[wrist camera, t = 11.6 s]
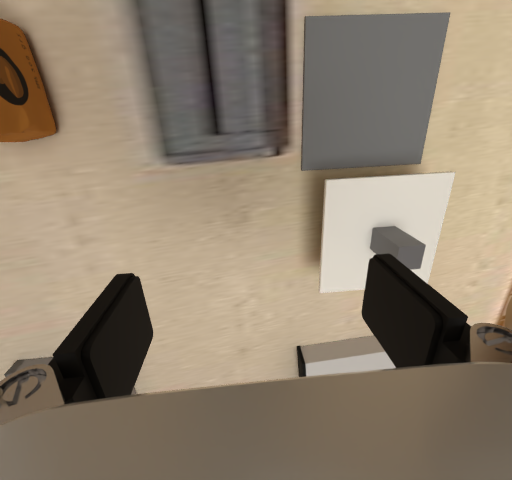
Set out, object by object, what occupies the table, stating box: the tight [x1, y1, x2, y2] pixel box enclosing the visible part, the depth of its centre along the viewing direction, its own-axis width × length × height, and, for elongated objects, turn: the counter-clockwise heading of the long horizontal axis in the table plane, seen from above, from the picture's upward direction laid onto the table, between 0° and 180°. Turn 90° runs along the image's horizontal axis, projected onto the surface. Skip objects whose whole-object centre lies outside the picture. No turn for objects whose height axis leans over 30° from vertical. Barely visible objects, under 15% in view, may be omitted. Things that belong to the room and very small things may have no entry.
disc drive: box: [297, 335, 396, 377], centre depth 55 cm, size 18×22×5 cm
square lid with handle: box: [319, 172, 455, 293], centre depth 32 cm, size 16×16×7 cm
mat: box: [301, 13, 450, 171], centre depth 36 cm, size 18×18×1 cm
